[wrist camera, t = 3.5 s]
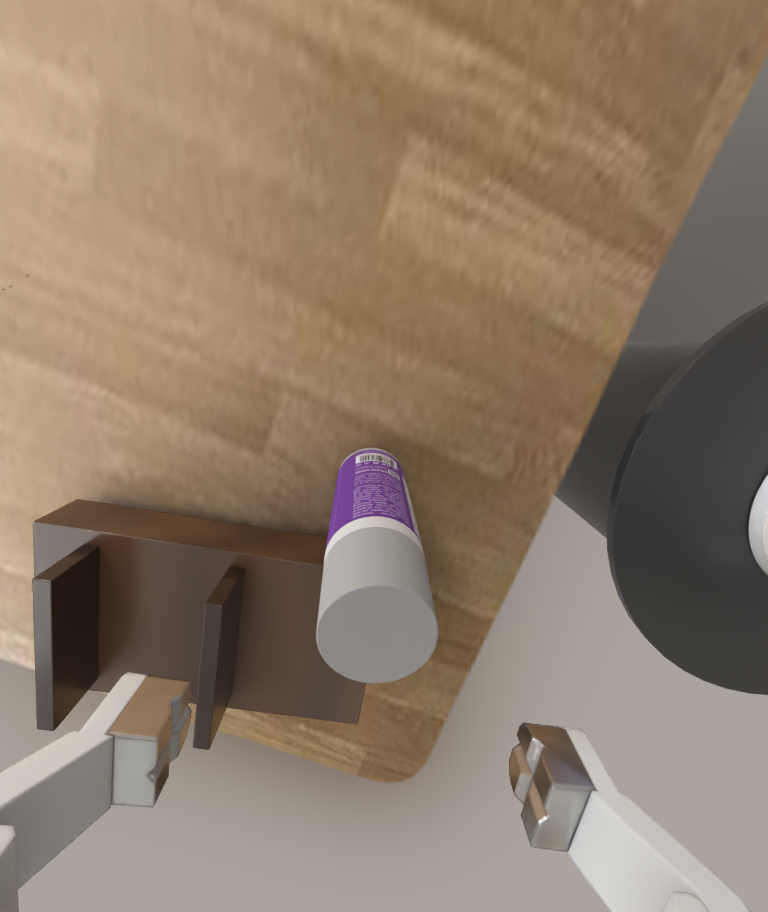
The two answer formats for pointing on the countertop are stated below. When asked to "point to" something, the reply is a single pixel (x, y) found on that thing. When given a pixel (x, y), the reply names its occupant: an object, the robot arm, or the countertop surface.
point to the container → (374, 576)
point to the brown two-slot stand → (181, 614)
